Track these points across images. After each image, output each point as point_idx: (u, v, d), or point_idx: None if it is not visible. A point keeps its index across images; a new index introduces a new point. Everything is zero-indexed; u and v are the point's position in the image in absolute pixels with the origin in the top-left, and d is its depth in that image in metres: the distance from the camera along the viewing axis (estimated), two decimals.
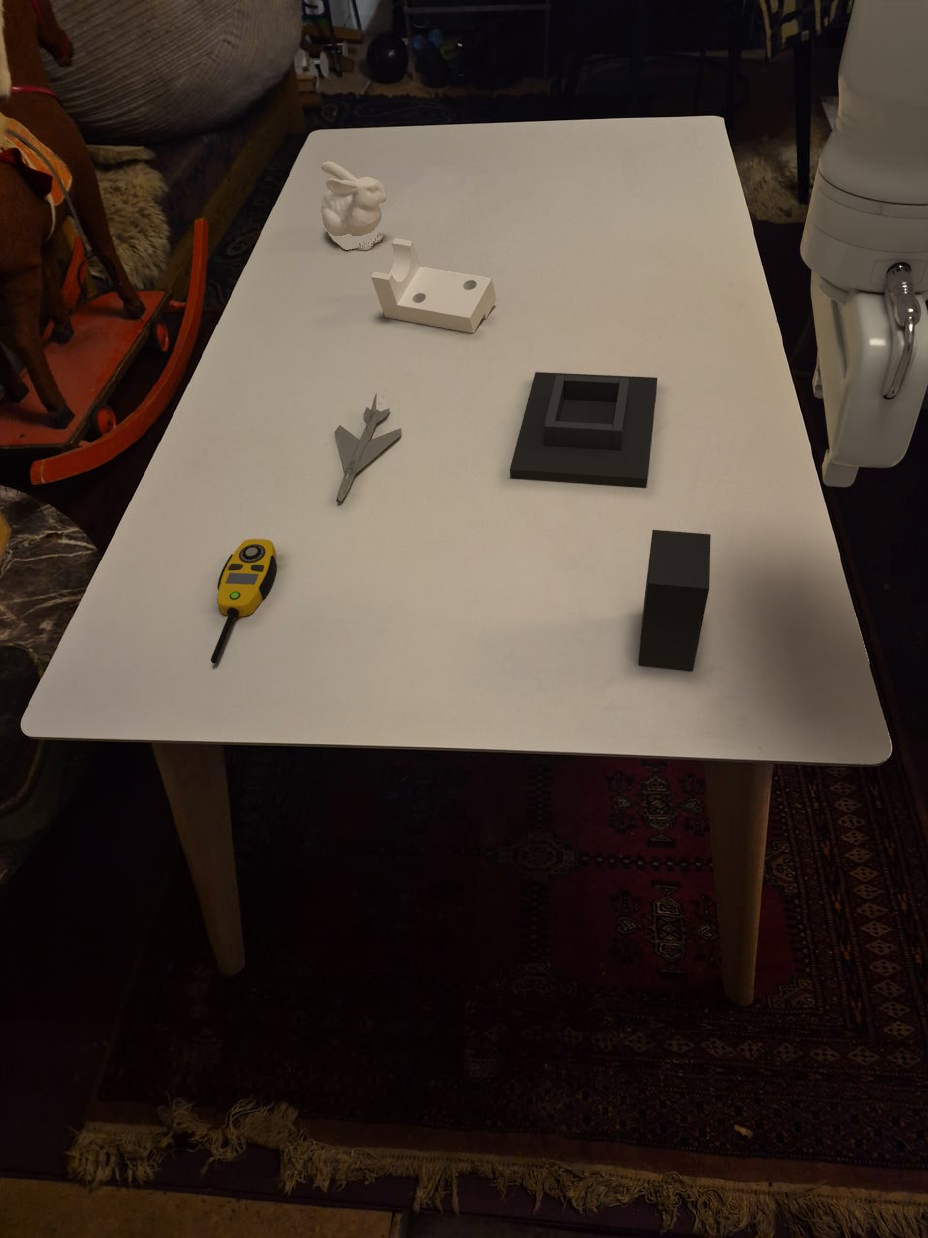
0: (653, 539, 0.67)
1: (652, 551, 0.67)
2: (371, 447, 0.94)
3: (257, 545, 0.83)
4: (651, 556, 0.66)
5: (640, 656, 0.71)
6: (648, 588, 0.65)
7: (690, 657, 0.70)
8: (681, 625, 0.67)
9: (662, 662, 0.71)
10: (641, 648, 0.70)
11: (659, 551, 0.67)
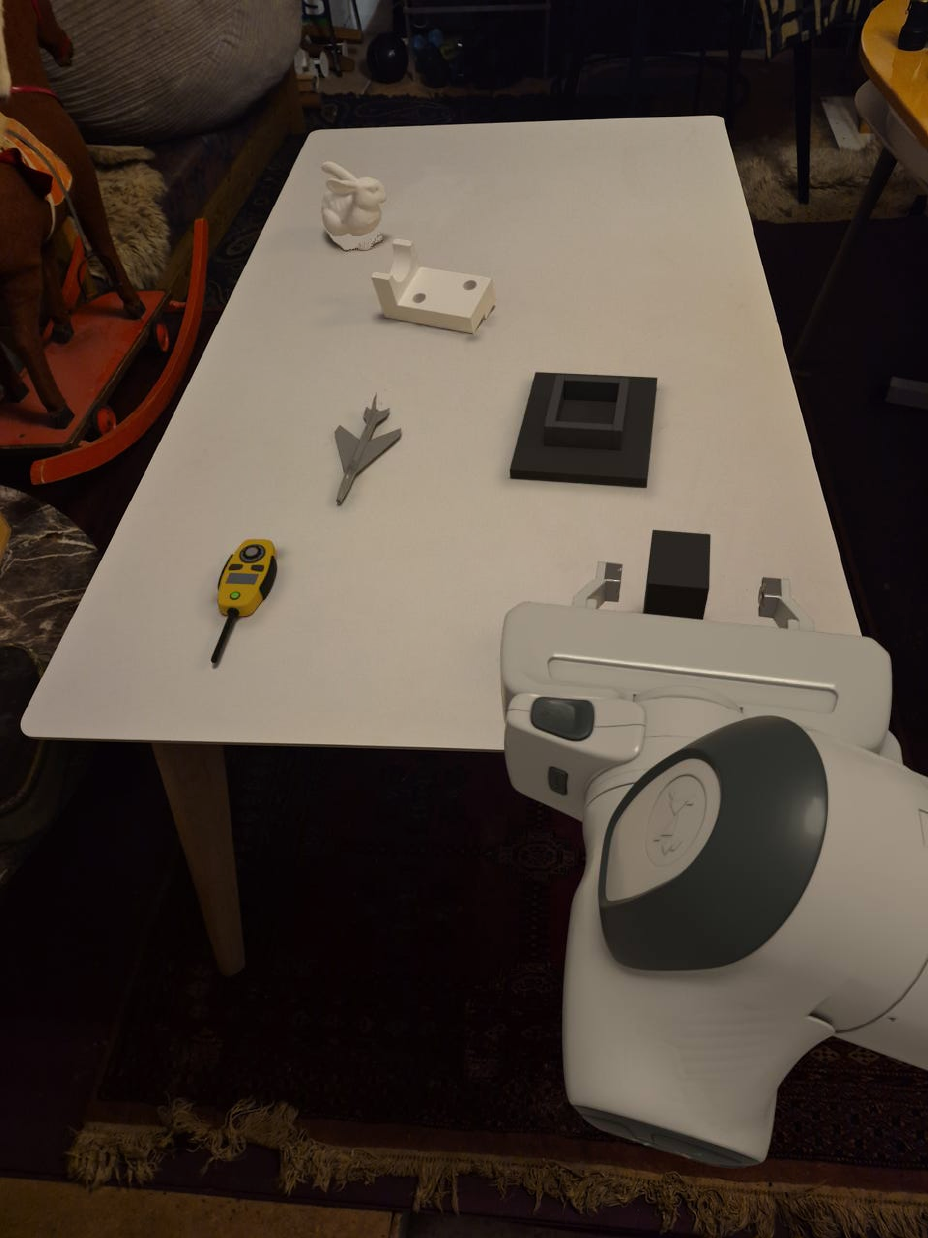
0: (653, 539, 0.67)
1: (652, 551, 0.67)
2: (371, 447, 0.94)
3: (257, 545, 0.83)
4: (651, 556, 0.66)
5: None
6: (648, 588, 0.65)
7: None
8: None
9: None
10: None
11: (659, 551, 0.67)
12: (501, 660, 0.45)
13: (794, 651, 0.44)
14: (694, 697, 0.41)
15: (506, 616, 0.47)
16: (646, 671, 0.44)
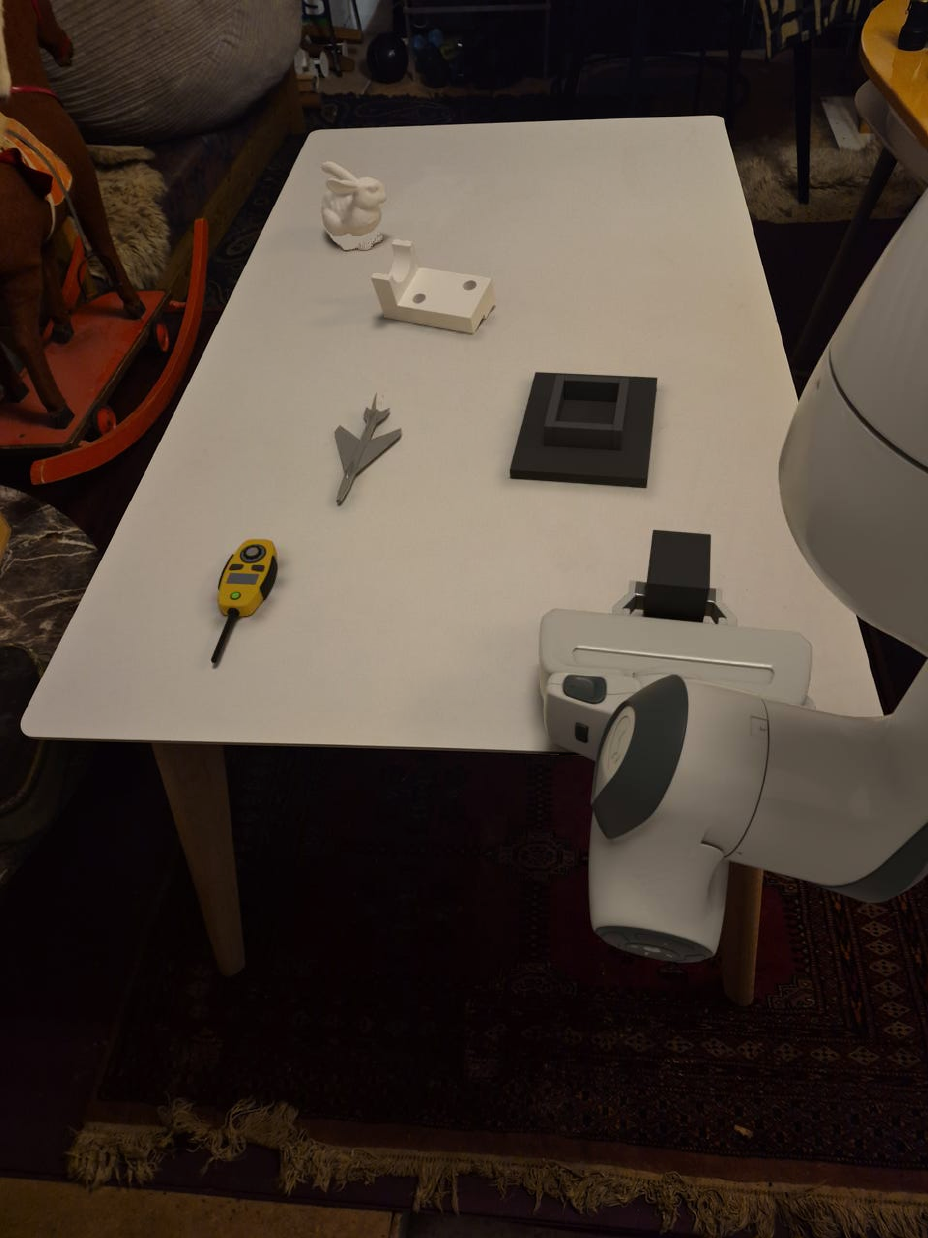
0: (653, 539, 0.67)
1: (652, 551, 0.67)
2: (371, 447, 0.94)
3: (258, 545, 0.83)
4: (651, 556, 0.66)
5: None
6: (648, 588, 0.65)
7: None
8: None
9: None
10: None
11: (660, 550, 0.66)
12: (540, 650, 0.64)
13: (745, 642, 0.63)
14: (674, 674, 0.60)
15: (542, 619, 0.66)
16: (642, 657, 0.63)
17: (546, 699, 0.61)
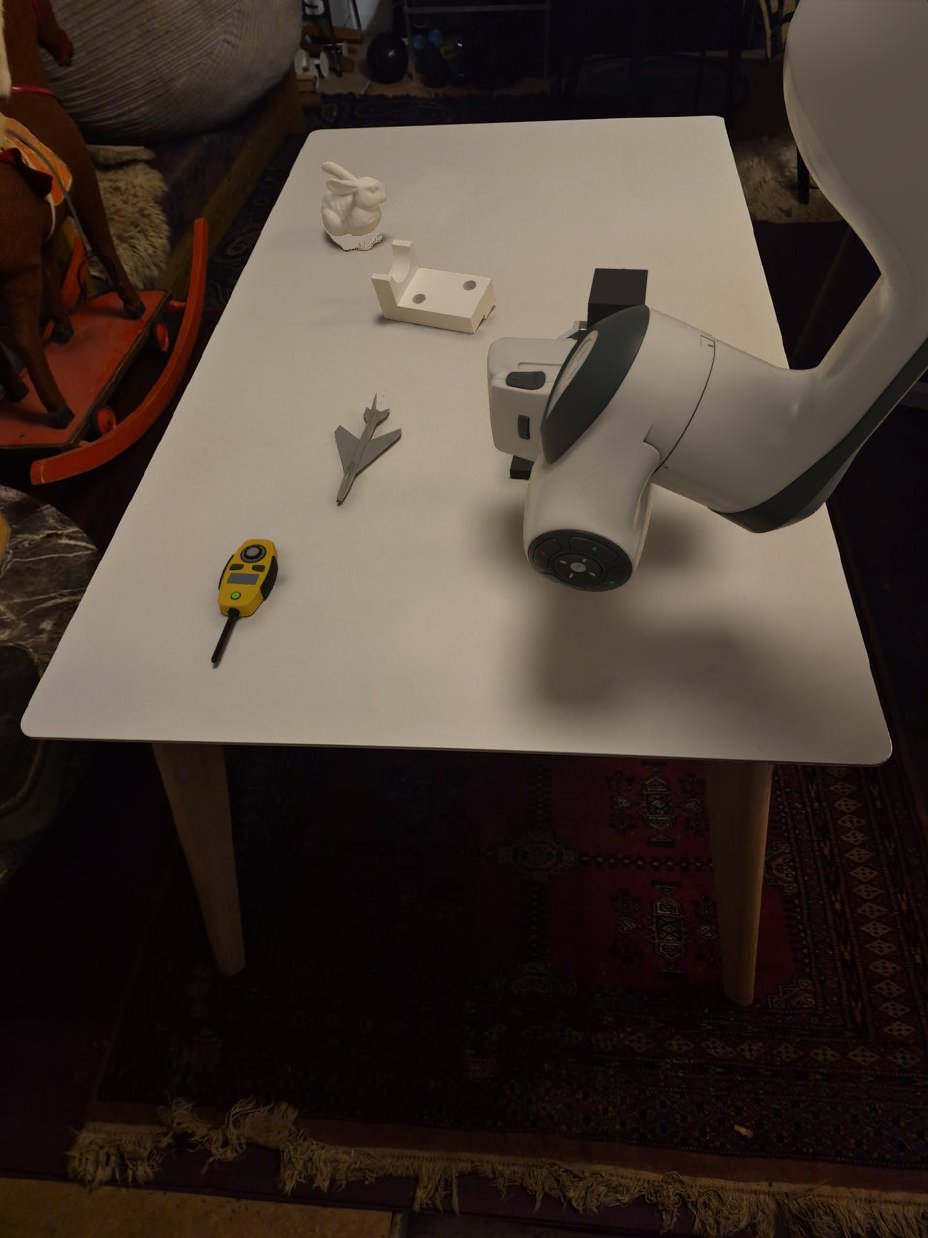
0: (595, 274, 0.73)
1: (593, 282, 0.72)
2: (371, 447, 0.94)
3: (258, 545, 0.83)
4: (592, 285, 0.71)
5: None
6: (588, 309, 0.70)
7: None
8: None
9: None
10: None
11: (600, 281, 0.72)
12: (487, 362, 0.69)
13: None
14: None
15: (491, 343, 0.72)
16: None
17: (491, 395, 0.66)
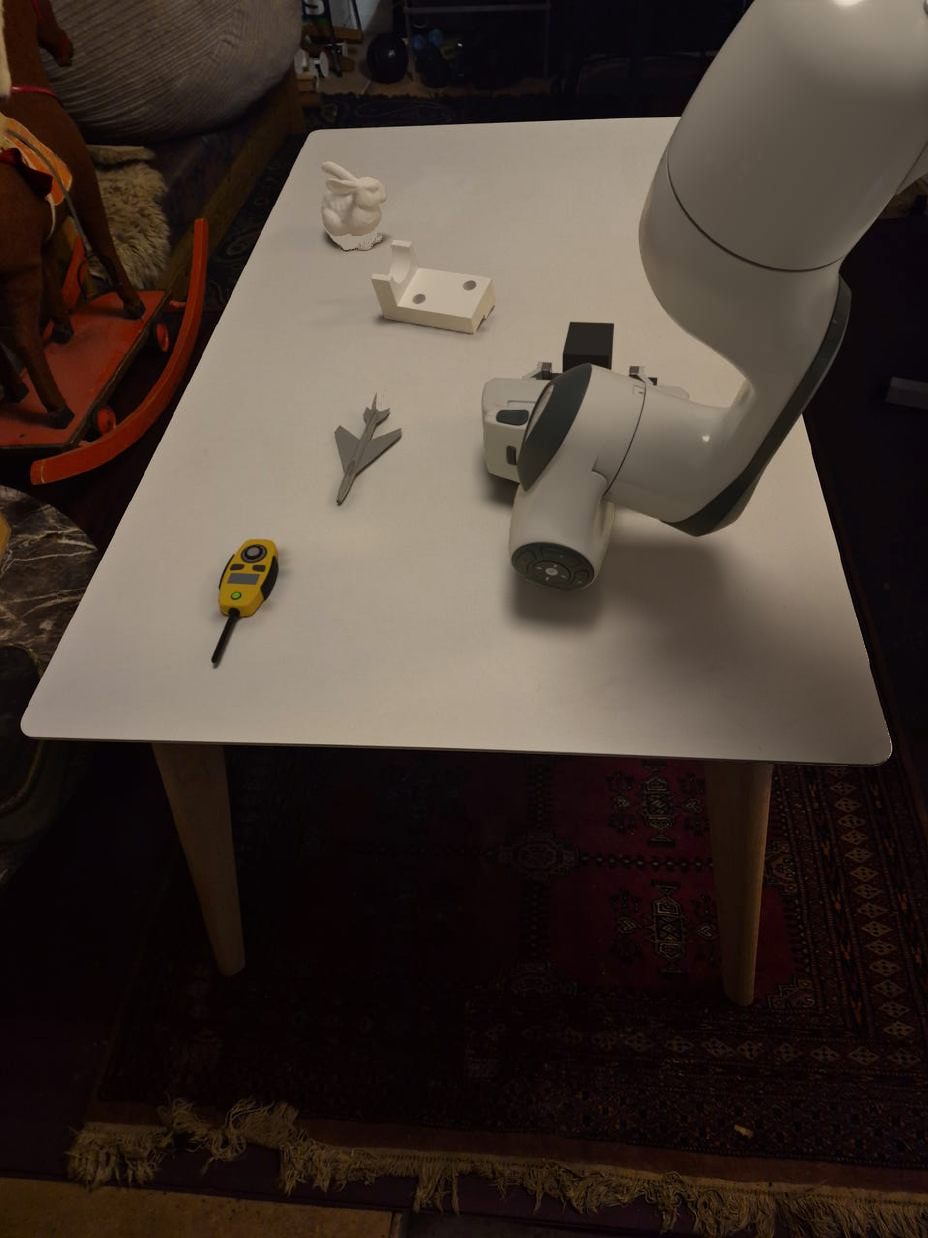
0: (569, 327, 0.87)
1: (568, 334, 0.86)
2: (371, 447, 0.94)
3: (259, 545, 0.83)
4: (567, 337, 0.86)
5: None
6: (563, 358, 0.84)
7: None
8: None
9: None
10: None
11: (573, 334, 0.86)
12: (482, 400, 0.83)
13: None
14: None
15: (485, 383, 0.86)
16: None
17: (484, 429, 0.80)
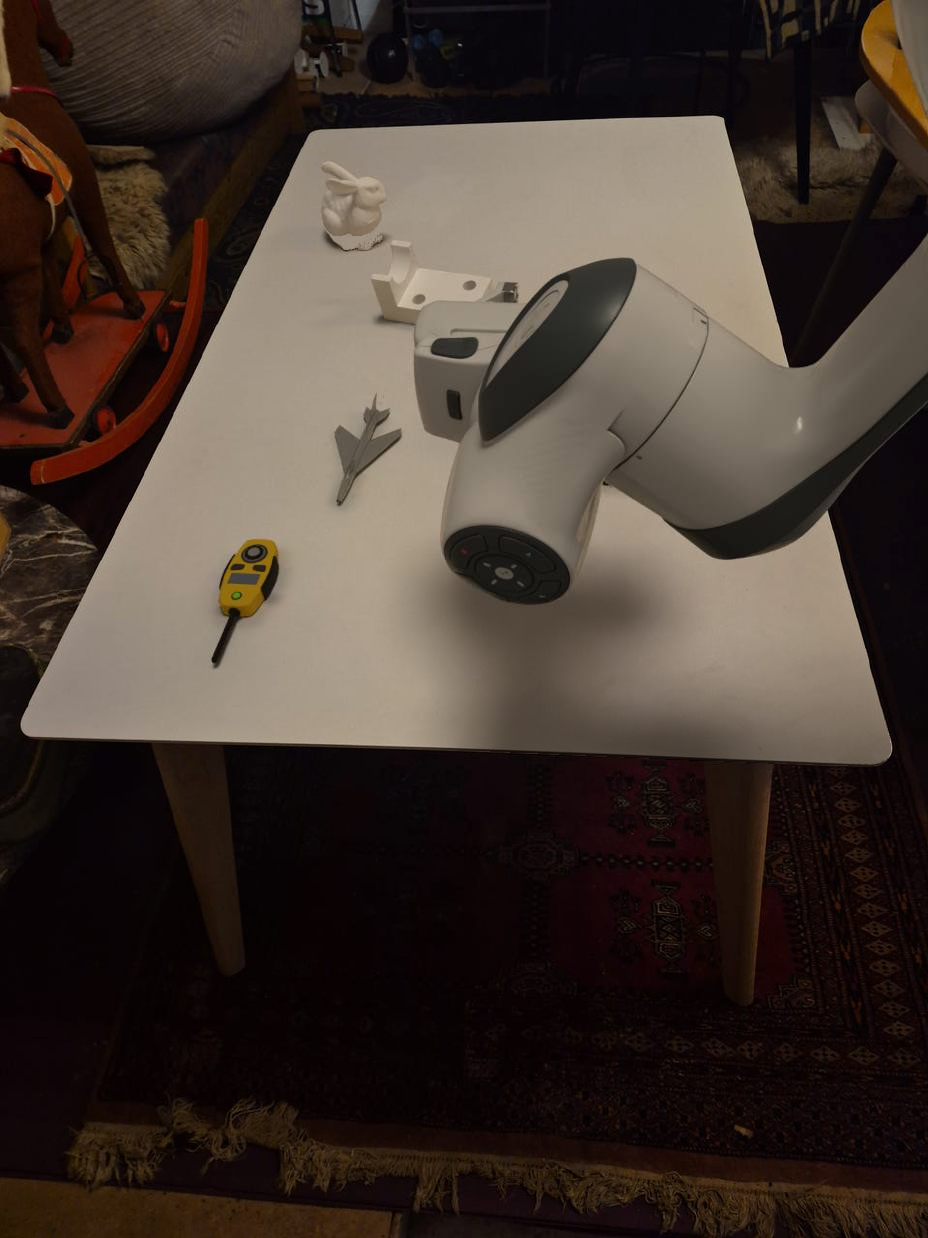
0: None
1: None
2: (371, 447, 0.94)
3: (259, 545, 0.83)
4: None
5: None
6: None
7: None
8: None
9: None
10: None
11: None
12: (414, 329, 0.58)
13: None
14: None
15: (421, 308, 0.61)
16: None
17: (414, 366, 0.55)
